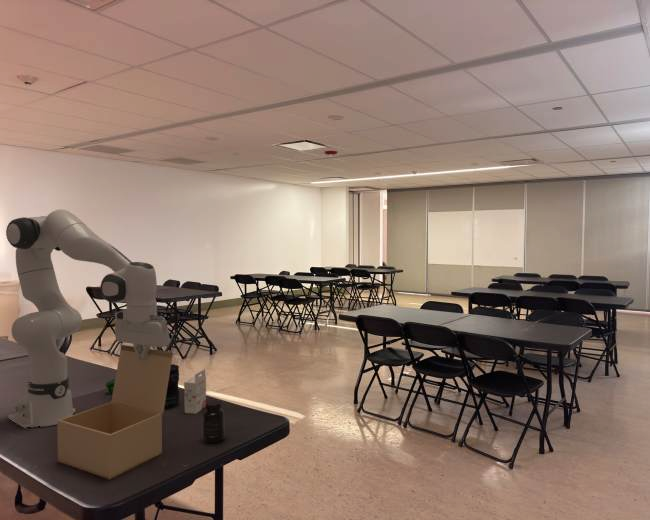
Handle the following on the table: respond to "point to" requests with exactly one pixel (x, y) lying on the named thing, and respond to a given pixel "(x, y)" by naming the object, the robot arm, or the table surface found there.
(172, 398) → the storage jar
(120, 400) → the flap
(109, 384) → the green bumpy lump
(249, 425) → the table surface
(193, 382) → the ink cartridge box
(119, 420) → the carton
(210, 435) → the supplement bottle
